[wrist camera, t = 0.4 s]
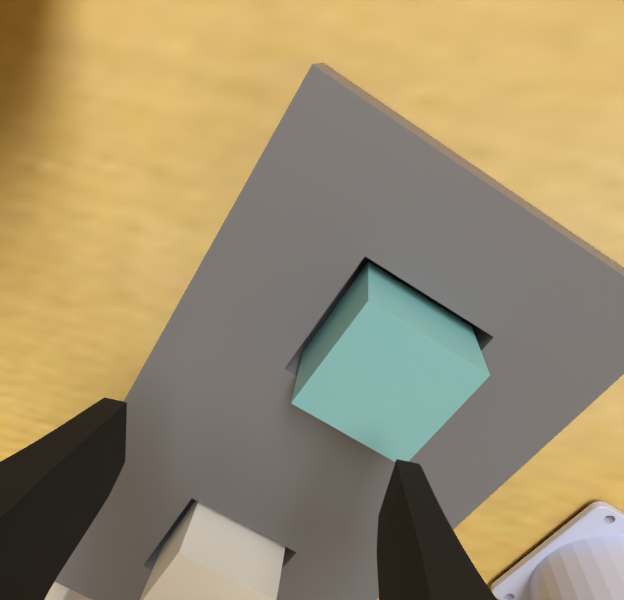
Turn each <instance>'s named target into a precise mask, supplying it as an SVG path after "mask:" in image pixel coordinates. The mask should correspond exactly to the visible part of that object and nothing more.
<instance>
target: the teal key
mask: <svg viewBox="0 0 624 600" xmlns="http://www.w3.org/2000/svg"><path fill="white" fill-rule="evenodd" d="M489 376H490V373H489V371H488V368H487V365H486V363H485V360H484V358H483V355H482V352H481V350H480V347H479V345H478V342H477V339H476V337H475V334H474V332H473V329H472V326H471V325H469V324H467V323H466V322H464V321H463V320H461V319H459V318H458V317H456V316H455V315H453V314H451V313H450V312H448V311H447V310H445V309H443V308H442V307H440V306H439V305H437V304H435V303H434V302H432V301H431V300H429V299H427V298H426V297H424V296H423V295H421V294H419V293H418V292H416V291H415V290H413V289H411V288H410V287H408V286H407V285H405V284H403V283H402V282H400V281H399V280H397V279H395V278H394V277H392V276H391V275H389V274H388V273H386V272H384V271H383V270H381V269H380V268H378V267H376V266H375V265H373V264H372V263H370V262H368V263H367V264H366V265H365V267H364V268H363V270H362V271H361V272H360V274H359V275H358V276H357V278H356V279H355V281H354V282H353V283H352V285H351V286H350V288H349V289H348V290H347V292H346V293H345V294H344V296H343V297H342V299H341V300H340V301H339V303H338V304H337V306H336V307H335V308H334V310H333V311H332V312H331V314H330V315H329V317H328V318H327V319H326V321H325V322H324V323H323V325H322V326H321V328H320V329H319V330H318V332H317V333H316V335H315V336H314V337H313V339H312V340H311V341H310V343H309V344H308V346H307V347H306V348H305V350H304V351H303V353H302V357H301V361H300V366H299V370H298V374H297V379H296V383H295V388H294V392H293V397H292V401H291V403H292V404H293V405H295V406H297V407H299V408H300V409H302V410H304V411H306V412H307V413H309V414H311V415H313V416H315V417H316V418H318V419H320V420H322V421H323V422H325V423H327V424H329V425H330V426H332V427H334V428H336V429H338V430H339V431H341V432H343V433H345V434H346V435H348V436H350V437H352V438H353V439H355V440H357V441H359V442H361V443H362V444H364V445H366V446H368V447H369V448H371V449H373V450H375V451H376V452H378V453H380V454H382V455H384V456H385V457H387V458H389V459H391V460H392V461H394V462H396V459H399V460H403V461H409V460H410V459H411V458H412V457H413V456H414V455H415V454H416V453H417V452H418V451H419V450H420V449H421V448H422V447H423V446H424V445H425V444H426V443H427V441H428V440H429V439H430V438H431V437H432V436H433V435H434V434H435V433H436V432H437V431H438V430H439V429H440V428H441V427H442V426H443V425H444V424H445V423H446V421H447V420H448V419H449V418H450V417H451V416H452V415H453V414H454V413H455V412H456V411H457V410H458V409H459V408H460V407H461V406H462V405H463V404H464V403H465V401H466V400H467V399H468V398H469V397H470V396H471V395H472V394H473V393H474V392H475V391H476V390H477V389H478V388H479V387H480V386H481V385H482V384H483V383H484V381H485V380H486V379H487V378H488V377H489Z"/></svg>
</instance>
